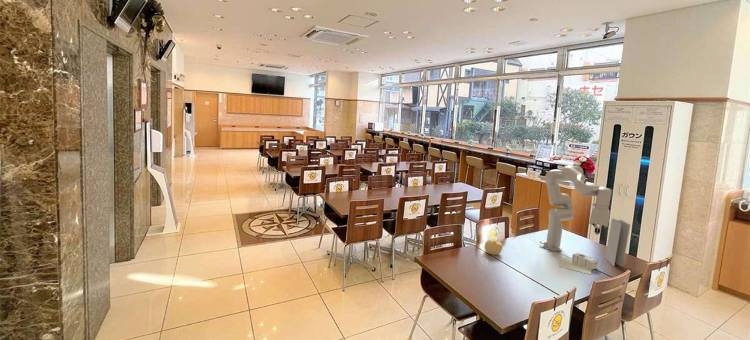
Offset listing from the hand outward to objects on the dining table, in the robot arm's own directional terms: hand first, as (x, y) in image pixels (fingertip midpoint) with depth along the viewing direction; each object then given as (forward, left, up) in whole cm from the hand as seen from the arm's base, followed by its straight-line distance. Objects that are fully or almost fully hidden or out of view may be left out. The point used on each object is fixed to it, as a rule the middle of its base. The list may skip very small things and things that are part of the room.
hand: (596, 233), depth 233 cm
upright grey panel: (+12, +25, -25) cm, 37 cm away
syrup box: (+2, +1, -21) cm, 21 cm away
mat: (-9, 0, -24) cm, 26 cm away
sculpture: (-60, -17, -25) cm, 67 cm away
